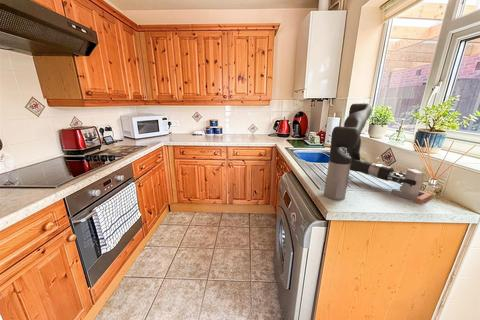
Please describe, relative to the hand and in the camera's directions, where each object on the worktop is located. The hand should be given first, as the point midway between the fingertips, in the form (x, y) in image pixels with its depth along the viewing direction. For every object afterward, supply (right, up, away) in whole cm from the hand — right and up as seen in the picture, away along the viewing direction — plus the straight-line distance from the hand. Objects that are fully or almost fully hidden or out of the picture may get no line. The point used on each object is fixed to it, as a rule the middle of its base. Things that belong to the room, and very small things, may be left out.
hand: (418, 182), depth 93 cm
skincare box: (-1, -7, +4) cm, 8 cm away
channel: (-1, -7, +4) cm, 8 cm away
